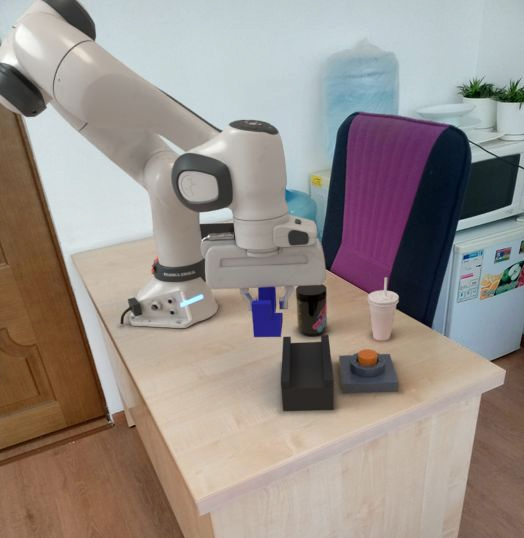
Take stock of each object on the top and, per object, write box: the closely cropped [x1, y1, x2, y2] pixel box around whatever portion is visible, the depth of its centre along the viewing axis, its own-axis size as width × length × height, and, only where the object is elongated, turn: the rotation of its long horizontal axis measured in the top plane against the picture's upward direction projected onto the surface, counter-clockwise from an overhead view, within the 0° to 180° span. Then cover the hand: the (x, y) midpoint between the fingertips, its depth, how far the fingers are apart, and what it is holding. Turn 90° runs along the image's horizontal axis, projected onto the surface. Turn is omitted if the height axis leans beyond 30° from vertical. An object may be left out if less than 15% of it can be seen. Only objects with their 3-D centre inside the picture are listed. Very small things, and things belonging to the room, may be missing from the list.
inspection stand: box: [280, 334, 335, 412], centre depth 94 cm, size 9×16×6 cm, turn 177°
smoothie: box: [367, 276, 400, 341], centre depth 106 cm, size 6×6×14 cm
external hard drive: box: [200, 222, 235, 240], centre depth 177 cm, size 14×23×3 cm, turn 171°
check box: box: [338, 352, 399, 394], centre depth 96 cm, size 10×10×4 cm
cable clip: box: [251, 287, 284, 338], centre depth 86 cm, size 12×4×6 cm, turn 175°
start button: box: [357, 348, 378, 366], centre depth 94 cm, size 4×4×2 cm
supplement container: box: [295, 283, 328, 338], centre depth 112 cm, size 7×7×10 cm
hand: (268, 308), depth 87 cm, fingers closed on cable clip, 4 cm apart
